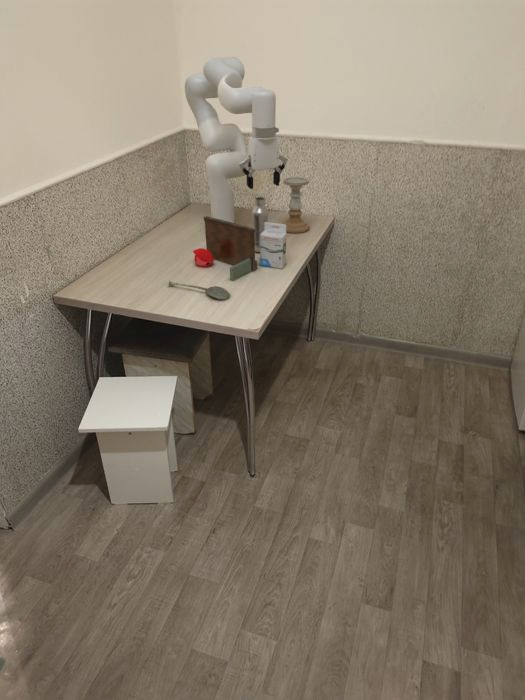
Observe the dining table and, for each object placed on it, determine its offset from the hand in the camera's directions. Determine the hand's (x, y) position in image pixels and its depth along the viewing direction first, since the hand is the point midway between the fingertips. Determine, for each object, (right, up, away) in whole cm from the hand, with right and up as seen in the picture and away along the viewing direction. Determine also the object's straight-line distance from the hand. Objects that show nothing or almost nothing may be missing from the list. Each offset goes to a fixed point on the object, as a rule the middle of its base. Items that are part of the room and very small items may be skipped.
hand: (263, 186), depth 174 cm
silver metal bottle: (-1, -18, +21) cm, 28 cm away
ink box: (+3, -25, +10) cm, 27 cm away
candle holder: (+13, -4, +43) cm, 45 cm away
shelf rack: (-15, -26, +8) cm, 31 cm away
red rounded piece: (-22, -25, +10) cm, 35 cm away
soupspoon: (-21, -37, -9) cm, 44 cm away
